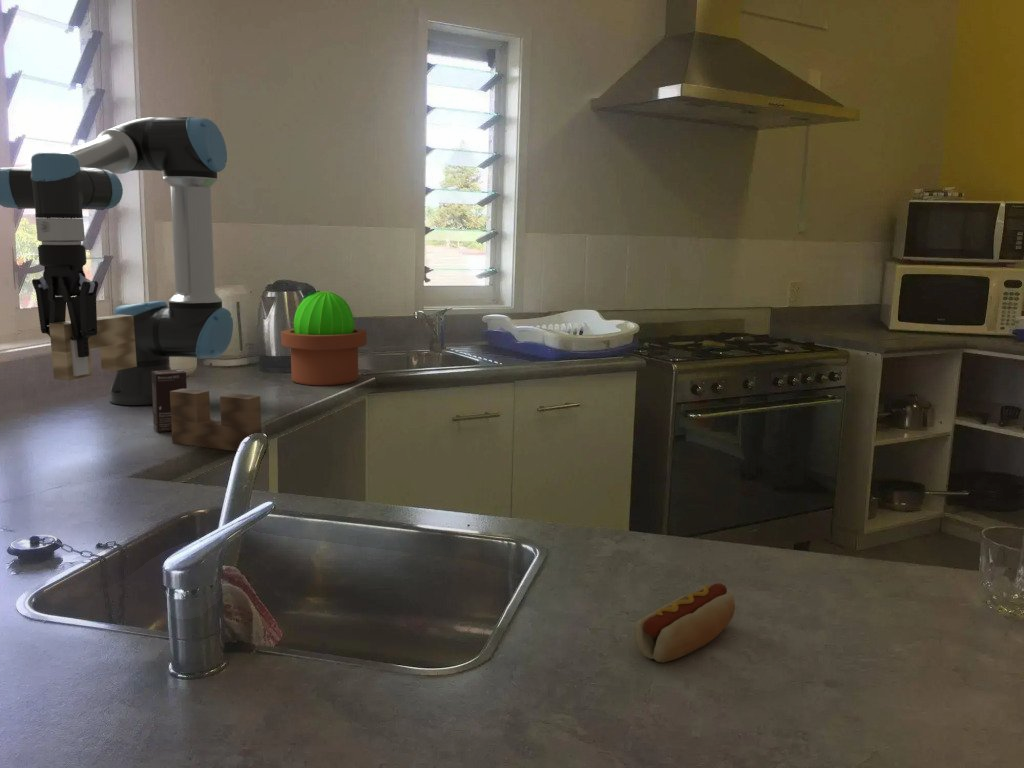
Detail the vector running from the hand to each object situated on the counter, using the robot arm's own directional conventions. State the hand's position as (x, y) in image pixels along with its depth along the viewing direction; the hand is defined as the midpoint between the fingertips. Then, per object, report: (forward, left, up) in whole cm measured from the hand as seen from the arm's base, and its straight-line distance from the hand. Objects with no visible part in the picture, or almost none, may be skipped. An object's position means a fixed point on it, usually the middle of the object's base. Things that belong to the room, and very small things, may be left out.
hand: (72, 373), depth 160 cm
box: (-15, +13, -14) cm, 25 cm away
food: (+88, +86, -14) cm, 124 cm away
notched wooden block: (0, +25, -14) cm, 28 cm away
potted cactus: (-74, +40, -14) cm, 85 cm away
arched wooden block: (-5, +3, -1) cm, 6 cm away
